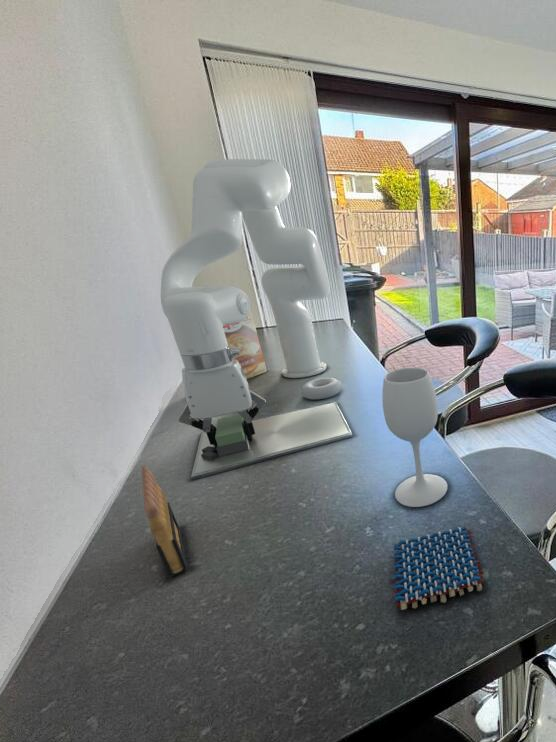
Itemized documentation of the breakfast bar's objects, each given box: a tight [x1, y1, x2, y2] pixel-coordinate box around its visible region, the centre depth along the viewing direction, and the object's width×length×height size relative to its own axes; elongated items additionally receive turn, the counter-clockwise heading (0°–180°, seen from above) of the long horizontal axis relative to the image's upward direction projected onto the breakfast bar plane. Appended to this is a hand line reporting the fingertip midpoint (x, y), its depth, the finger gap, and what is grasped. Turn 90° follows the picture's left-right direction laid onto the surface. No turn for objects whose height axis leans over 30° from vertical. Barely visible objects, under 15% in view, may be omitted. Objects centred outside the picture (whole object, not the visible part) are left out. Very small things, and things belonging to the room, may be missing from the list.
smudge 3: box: [201, 451, 219, 460], centre depth 77 cm, size 3×1×1 cm, turn 71°
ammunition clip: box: [141, 465, 189, 578], centre depth 53 cm, size 11×2×12 cm, turn 42°
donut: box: [300, 377, 342, 401], centre depth 107 cm, size 10×4×10 cm
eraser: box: [215, 414, 249, 456], centre depth 82 cm, size 10×5×4 cm, turn 32°
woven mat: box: [393, 526, 485, 611], centre depth 51 cm, size 10×11×2 cm
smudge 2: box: [202, 446, 218, 453], centre depth 79 cm, size 3×1×1 cm, turn 72°
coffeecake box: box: [223, 310, 268, 380], centre depth 117 cm, size 15×7×20 cm, turn 160°
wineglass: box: [381, 366, 448, 508], centre depth 63 cm, size 9×9×21 cm
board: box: [190, 401, 354, 481], centre depth 86 cm, size 20×28×1 cm
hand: (234, 441), depth 82 cm, fingers closed on eraser, 5 cm apart
